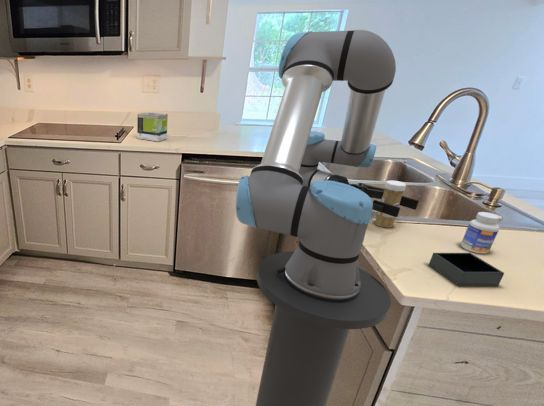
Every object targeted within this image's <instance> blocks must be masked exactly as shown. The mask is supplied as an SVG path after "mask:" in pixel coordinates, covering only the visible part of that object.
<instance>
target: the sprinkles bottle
mask: <svg viewBox="0 0 544 406" xmlns="http://www.w3.org/2000/svg"><path fill="white" fill-rule="evenodd" d="M406 187H407V184H406V183H405V182H403V181H399V180H393V179H392V180H391V179H390V180H386V182H385V184H384V189H385V190H384V194H383V197H382V199H380V202H384V203H387V204H390V205H393V206H396V207H400V205H399V204H400V200H401V197H402V196H403V195H404V192H405V190H406ZM395 219H396V217H394V216H391V215H388V214H385V213H382V212H379V211H377V214H376V217H375V220H374V224H375V225H376V226H378V227H380V228H387V229H388V228H389V229H390V228H392V227H393V226H394V223H395Z"/></svg>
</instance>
